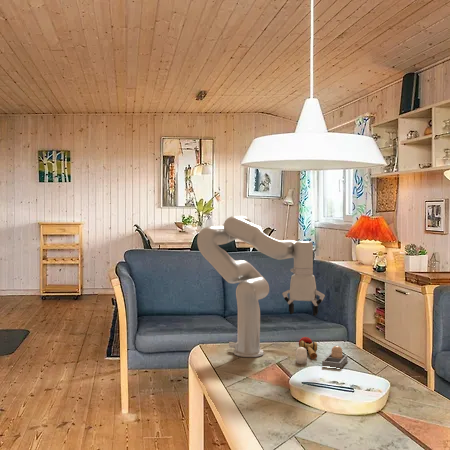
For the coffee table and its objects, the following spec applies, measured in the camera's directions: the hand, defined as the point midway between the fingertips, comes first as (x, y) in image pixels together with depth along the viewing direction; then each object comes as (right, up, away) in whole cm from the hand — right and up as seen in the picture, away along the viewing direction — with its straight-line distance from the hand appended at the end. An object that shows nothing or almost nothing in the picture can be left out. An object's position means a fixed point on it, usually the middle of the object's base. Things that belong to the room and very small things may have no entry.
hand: (303, 314), depth 243 cm
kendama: (+4, -19, +15) cm, 25 cm away
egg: (-1, -19, +1) cm, 19 cm away
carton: (+12, -20, -2) cm, 23 cm away
